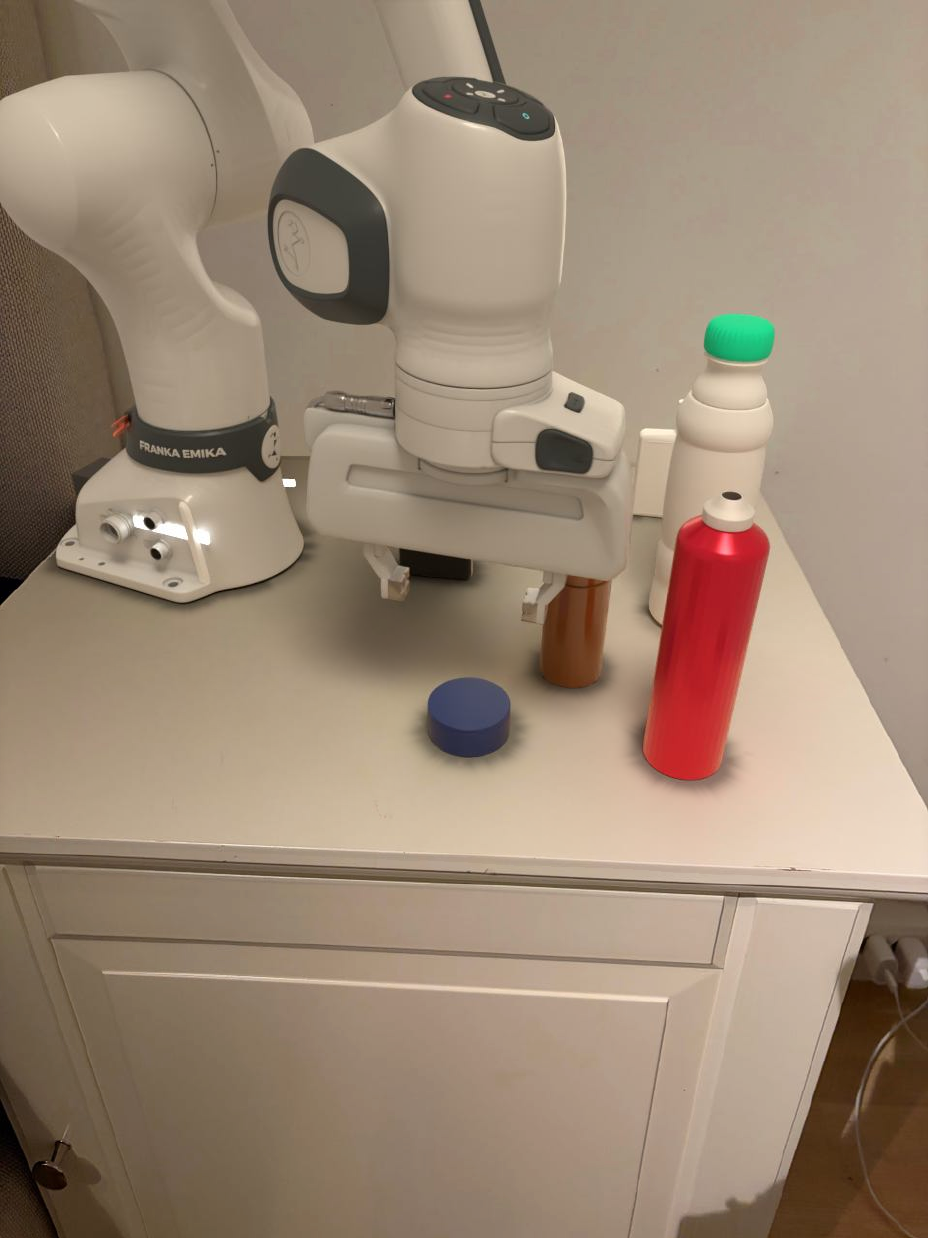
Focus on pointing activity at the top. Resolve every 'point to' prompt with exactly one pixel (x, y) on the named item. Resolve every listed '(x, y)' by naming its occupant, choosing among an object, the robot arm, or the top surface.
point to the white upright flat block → (652, 470)
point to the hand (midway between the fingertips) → (463, 606)
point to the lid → (468, 716)
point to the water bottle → (717, 434)
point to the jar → (575, 633)
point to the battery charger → (435, 564)
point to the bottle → (705, 637)
